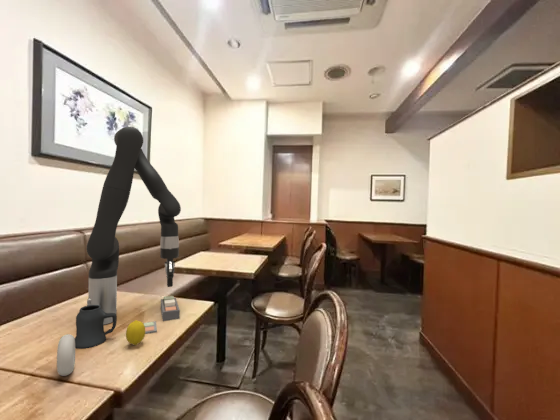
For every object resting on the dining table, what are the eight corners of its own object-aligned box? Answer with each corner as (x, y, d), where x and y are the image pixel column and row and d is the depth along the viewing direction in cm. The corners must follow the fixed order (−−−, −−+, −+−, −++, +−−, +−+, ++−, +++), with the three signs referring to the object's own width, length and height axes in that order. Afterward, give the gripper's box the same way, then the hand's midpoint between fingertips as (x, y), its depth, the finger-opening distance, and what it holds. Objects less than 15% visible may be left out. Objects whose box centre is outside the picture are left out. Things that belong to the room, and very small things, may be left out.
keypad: (162, 321, 110) (162, 312, 110) (160, 307, 125) (160, 299, 125) (179, 318, 113) (179, 310, 113) (175, 305, 128) (175, 297, 128)
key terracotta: (165, 316, 111) (165, 310, 111) (165, 313, 115) (165, 307, 115) (176, 315, 113) (176, 309, 113) (175, 312, 117) (175, 306, 117)
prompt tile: (141, 334, 98) (141, 332, 98) (141, 324, 106) (141, 322, 106) (156, 332, 100) (156, 329, 100) (156, 322, 108) (156, 320, 108)
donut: (60, 366, 78) (61, 330, 78) (75, 362, 80) (76, 327, 80) (55, 385, 70) (55, 345, 70) (72, 381, 72) (73, 342, 71)
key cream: (164, 309, 116) (164, 303, 116) (164, 306, 120) (164, 300, 120) (175, 307, 118) (175, 302, 118) (174, 304, 122) (174, 299, 122)
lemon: (137, 350, 88) (137, 324, 87) (121, 348, 89) (121, 322, 89) (148, 342, 93) (149, 317, 93) (134, 340, 94) (134, 316, 94)
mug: (67, 350, 87) (68, 313, 87) (78, 337, 95) (79, 304, 95) (112, 345, 90) (113, 310, 90) (118, 333, 99) (119, 301, 99)
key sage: (164, 305, 121) (164, 299, 121) (163, 302, 125) (163, 296, 125) (174, 303, 123) (174, 298, 123) (173, 301, 126) (173, 295, 126)
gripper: (159, 245, 128) (160, 283, 128) (160, 249, 116) (161, 291, 116) (177, 244, 131) (177, 281, 131) (180, 248, 119) (180, 289, 119)
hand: (169, 286), depth 124 cm, fingers closed
